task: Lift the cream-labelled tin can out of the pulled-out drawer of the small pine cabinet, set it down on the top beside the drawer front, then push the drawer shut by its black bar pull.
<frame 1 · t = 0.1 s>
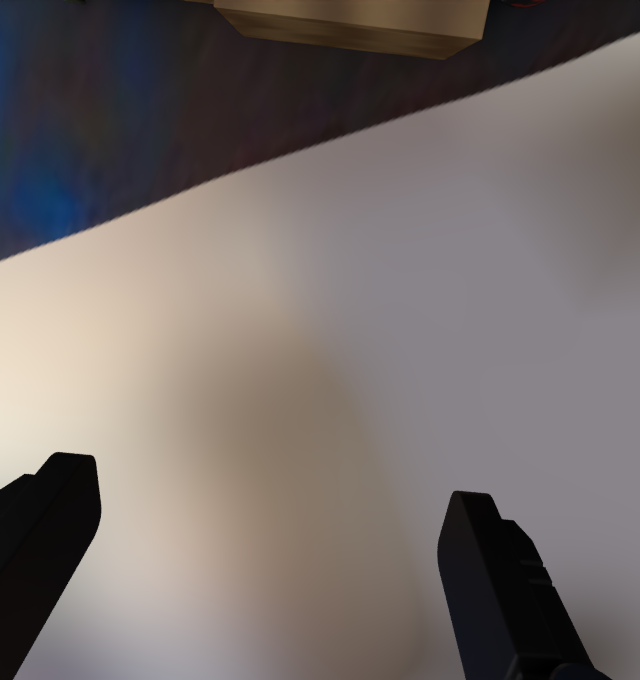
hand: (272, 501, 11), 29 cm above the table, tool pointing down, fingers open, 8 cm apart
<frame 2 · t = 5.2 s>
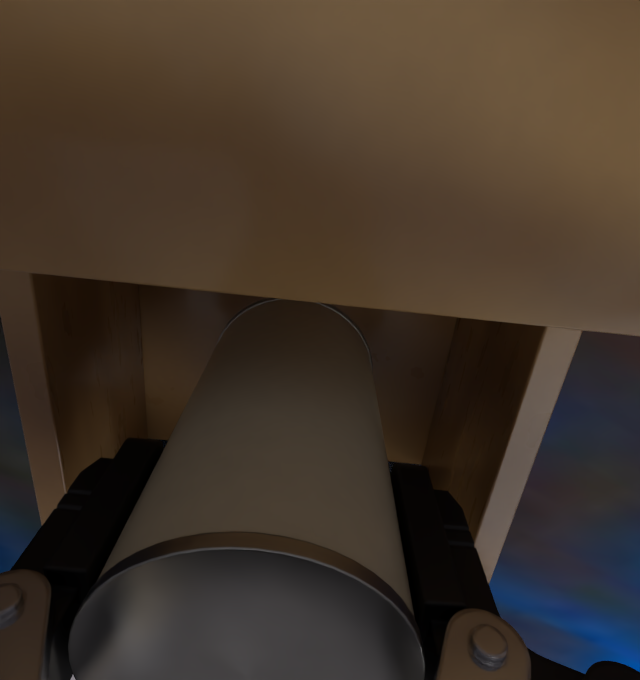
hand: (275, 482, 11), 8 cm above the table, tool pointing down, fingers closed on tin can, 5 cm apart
drawer: (282, 459, 15), point 4 cm above the table, slide at 10.0 cm, touching tin can
tin can: (292, 369, 16), point 2 cm above the table, touching drawer, gripper
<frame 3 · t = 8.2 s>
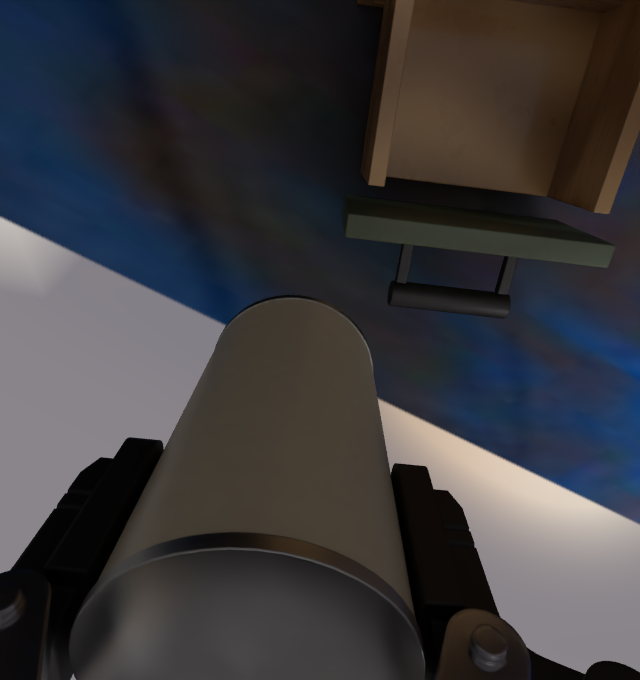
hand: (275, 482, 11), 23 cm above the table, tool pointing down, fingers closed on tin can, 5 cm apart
drawer: (478, 161, 25), point 4 cm above the table, slide at 10.0 cm
tin can: (293, 369, 16), point 17 cm above the table, touching gripper
when the fingers open (6 cm above the table, at t = 11.5 s): tin can stays where it is, on the table.
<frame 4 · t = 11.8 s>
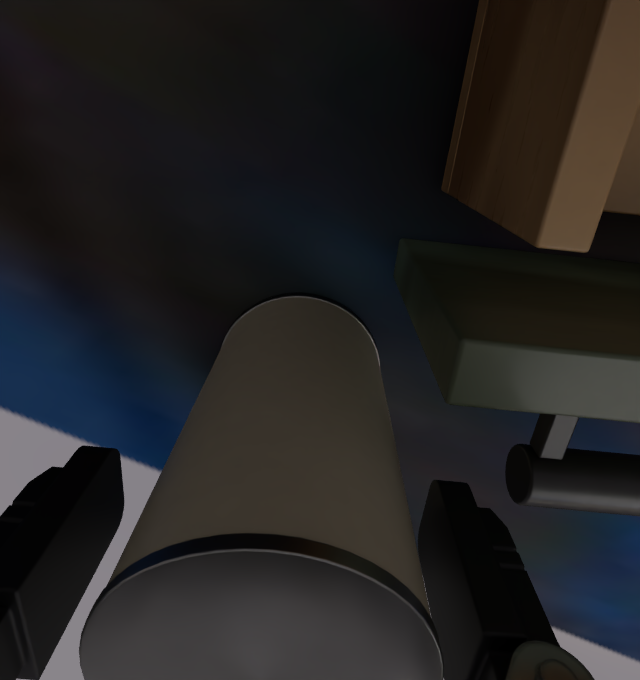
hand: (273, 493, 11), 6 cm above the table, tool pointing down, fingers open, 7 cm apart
tin can: (299, 368, 16), on the table
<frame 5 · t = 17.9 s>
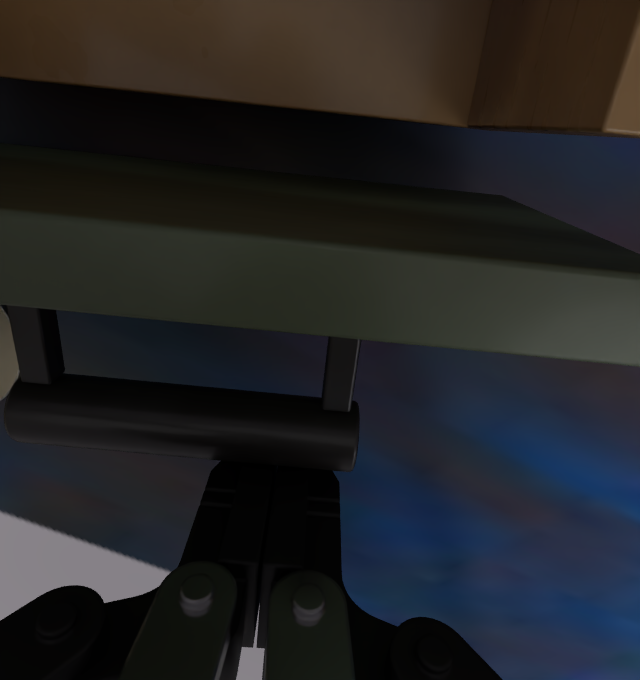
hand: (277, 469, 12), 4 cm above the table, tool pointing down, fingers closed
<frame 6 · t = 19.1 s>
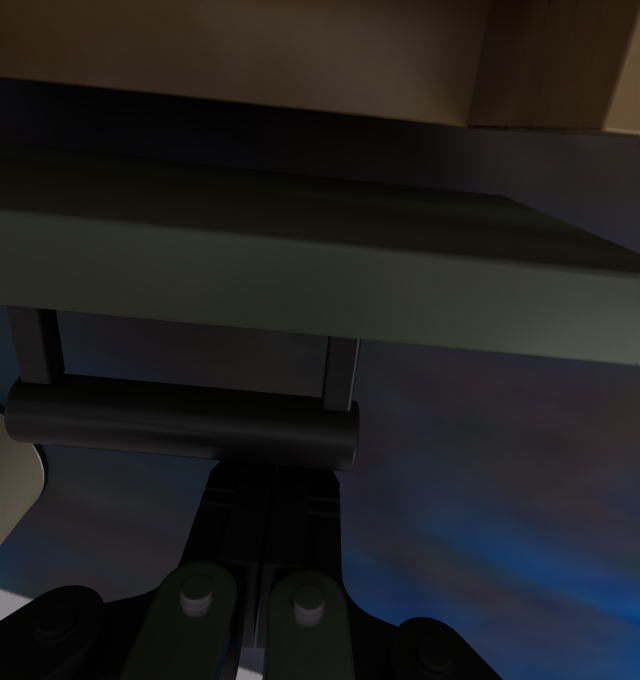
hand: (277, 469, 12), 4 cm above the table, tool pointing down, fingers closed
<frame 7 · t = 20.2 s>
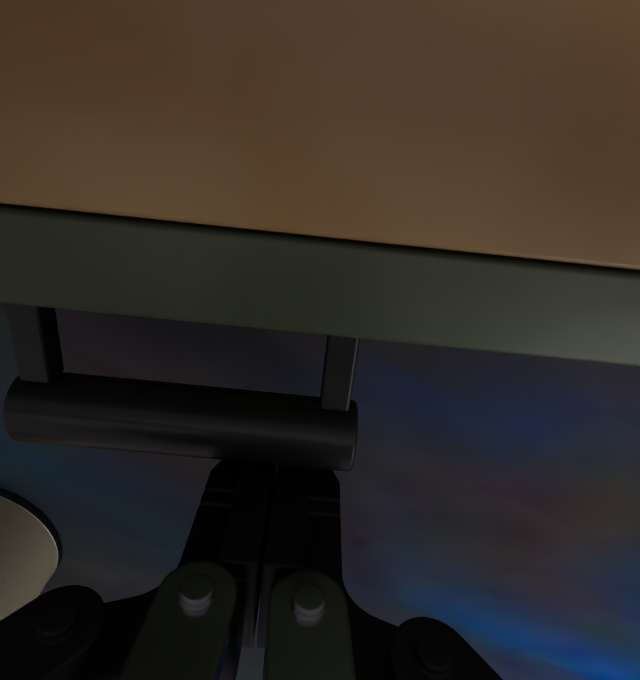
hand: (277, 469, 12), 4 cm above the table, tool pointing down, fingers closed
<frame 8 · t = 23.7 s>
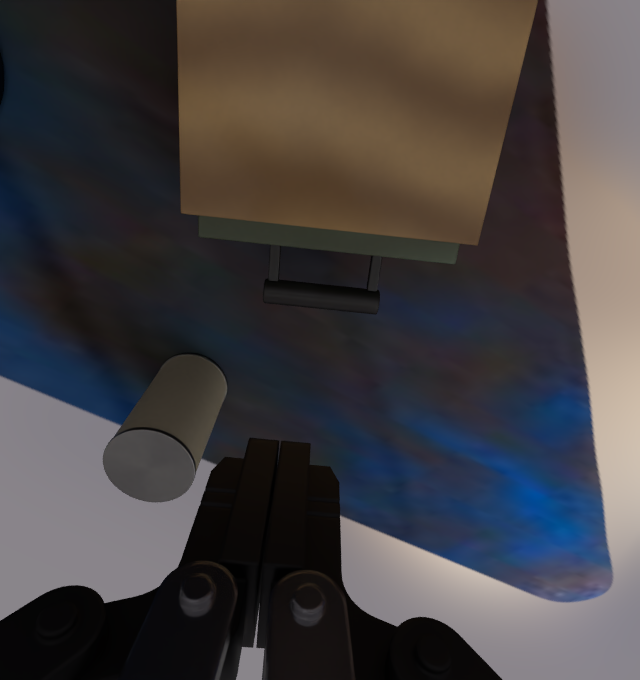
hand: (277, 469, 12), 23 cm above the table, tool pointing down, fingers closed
cabinet: (343, 85, 28), on the table
drawer: (336, 162, 26), point 4 cm above the table, slide at 0.1 cm
tin can: (192, 383, 37), on the table
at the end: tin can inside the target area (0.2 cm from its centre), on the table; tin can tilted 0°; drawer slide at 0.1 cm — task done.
